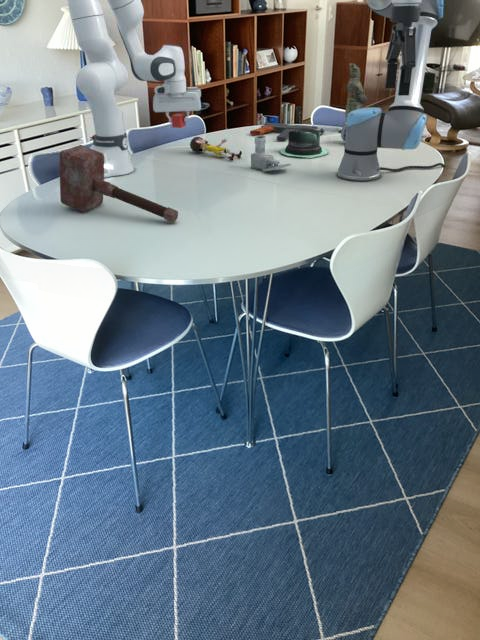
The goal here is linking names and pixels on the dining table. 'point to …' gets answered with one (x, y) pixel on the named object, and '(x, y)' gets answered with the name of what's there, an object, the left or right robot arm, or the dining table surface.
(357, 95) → the statue
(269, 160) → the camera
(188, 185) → the dining table surface
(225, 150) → the figurine
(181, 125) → the block
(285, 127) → the submachine gun
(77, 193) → the sledgehammer
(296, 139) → the dark green rounded hat
